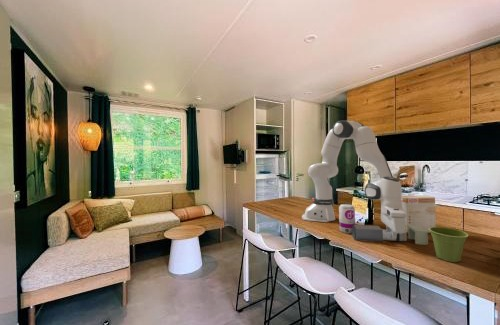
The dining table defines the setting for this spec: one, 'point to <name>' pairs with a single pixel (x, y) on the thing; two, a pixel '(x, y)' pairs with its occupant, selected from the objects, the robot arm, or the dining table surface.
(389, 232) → the slip tube
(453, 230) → the plant pot
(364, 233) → the sleeve
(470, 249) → the dining table surface
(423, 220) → the coffeecake box
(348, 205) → the supplement can
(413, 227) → the socket
